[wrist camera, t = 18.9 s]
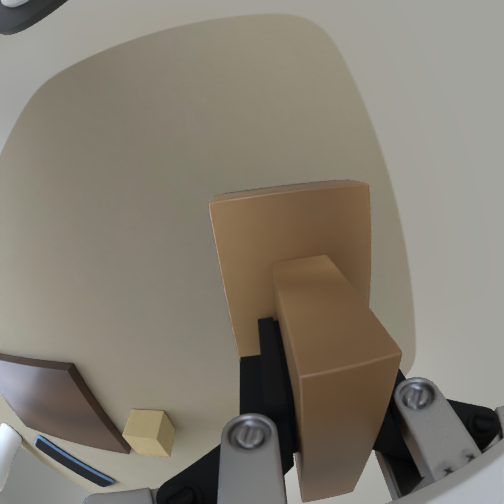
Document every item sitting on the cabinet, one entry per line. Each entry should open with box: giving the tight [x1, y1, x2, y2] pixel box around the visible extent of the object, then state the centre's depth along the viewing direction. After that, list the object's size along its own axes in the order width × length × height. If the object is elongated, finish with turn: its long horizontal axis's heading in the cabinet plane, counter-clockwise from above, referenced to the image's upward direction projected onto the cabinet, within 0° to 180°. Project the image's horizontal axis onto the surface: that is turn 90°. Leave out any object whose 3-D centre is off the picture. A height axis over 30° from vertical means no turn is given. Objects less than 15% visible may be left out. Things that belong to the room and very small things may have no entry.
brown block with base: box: [208, 179, 402, 502], centre depth 9 cm, size 5×11×8 cm, turn 8°
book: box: [0, 354, 131, 454], centre depth 21 cm, size 14×20×1 cm
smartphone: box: [35, 436, 114, 487], centre depth 27 cm, size 7×1×15 cm
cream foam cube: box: [122, 409, 175, 457], centre depth 20 cm, size 4×4×4 cm
